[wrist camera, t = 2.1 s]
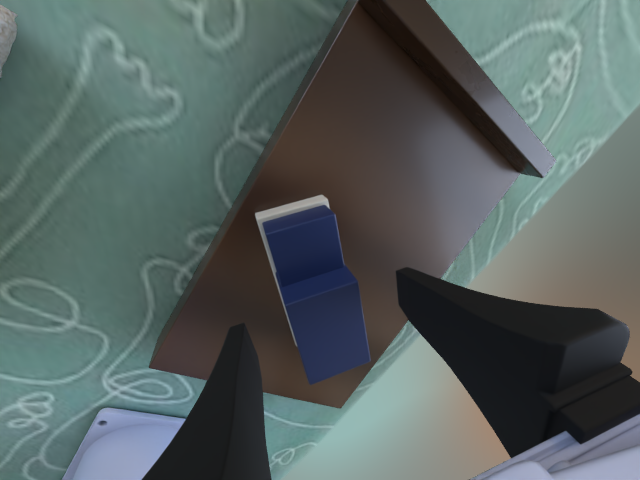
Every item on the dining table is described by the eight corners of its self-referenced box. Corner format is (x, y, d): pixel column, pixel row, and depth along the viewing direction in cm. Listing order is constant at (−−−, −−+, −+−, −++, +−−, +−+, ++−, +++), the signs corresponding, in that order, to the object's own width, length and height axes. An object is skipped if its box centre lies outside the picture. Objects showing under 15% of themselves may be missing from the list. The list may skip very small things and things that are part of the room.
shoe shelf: (330, 382, 24) (347, 427, 21) (157, 337, 18) (140, 391, 15) (500, 153, 20) (557, 160, 17) (349, -5, 14) (390, -45, 10)
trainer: (346, 316, 19) (373, 363, 15) (293, 336, 18) (308, 389, 14) (322, 193, 15) (351, 218, 11) (254, 212, 14) (262, 244, 11)
